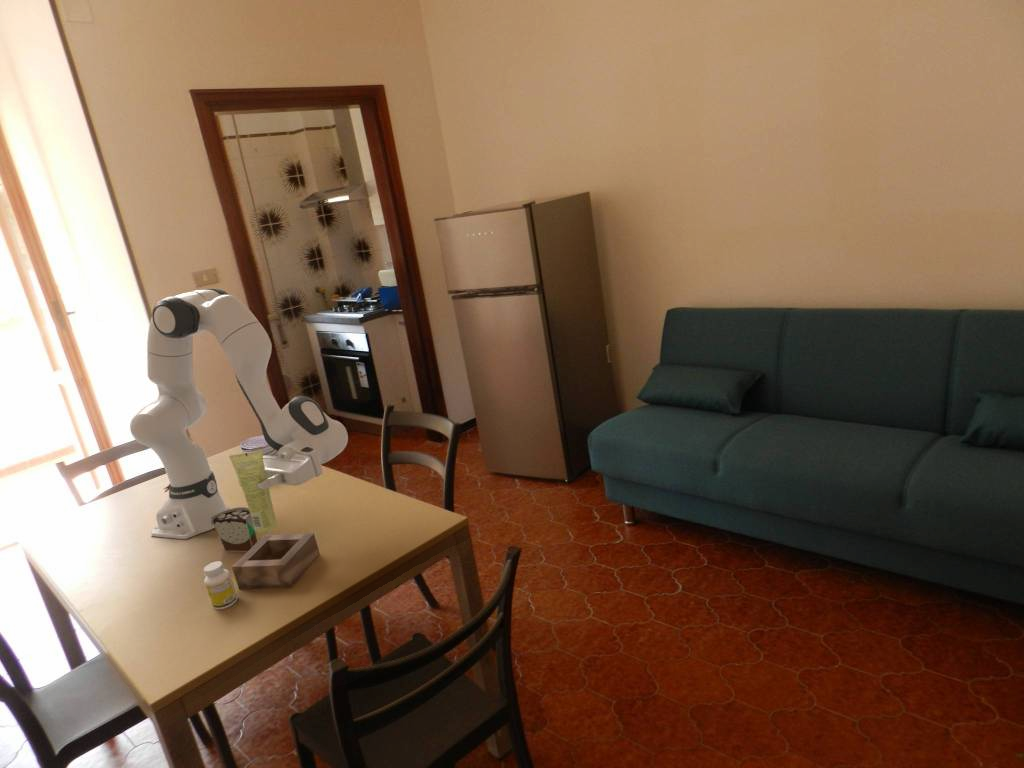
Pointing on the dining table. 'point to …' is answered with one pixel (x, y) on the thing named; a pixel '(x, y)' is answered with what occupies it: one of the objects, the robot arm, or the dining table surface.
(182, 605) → the dining table surface
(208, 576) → the supplement bottle
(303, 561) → the organiser
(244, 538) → the food container
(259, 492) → the tube
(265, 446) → the can
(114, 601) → the dining table surface
